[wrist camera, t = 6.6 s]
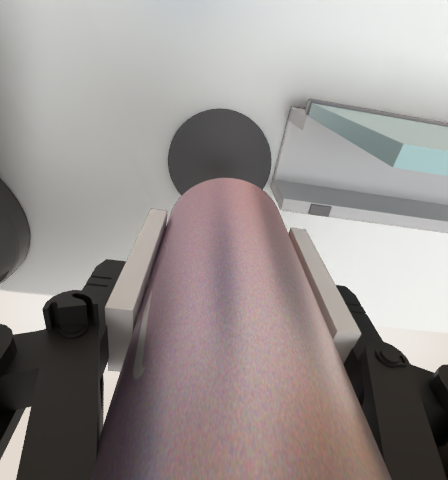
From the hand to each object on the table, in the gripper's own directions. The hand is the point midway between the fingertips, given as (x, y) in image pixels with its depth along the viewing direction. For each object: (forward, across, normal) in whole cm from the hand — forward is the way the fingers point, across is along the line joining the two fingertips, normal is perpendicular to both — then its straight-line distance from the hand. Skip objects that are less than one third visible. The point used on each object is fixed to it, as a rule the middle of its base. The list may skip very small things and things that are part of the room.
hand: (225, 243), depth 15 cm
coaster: (+14, 0, 0) cm, 14 cm away
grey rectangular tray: (+14, +15, +2) cm, 20 cm away
